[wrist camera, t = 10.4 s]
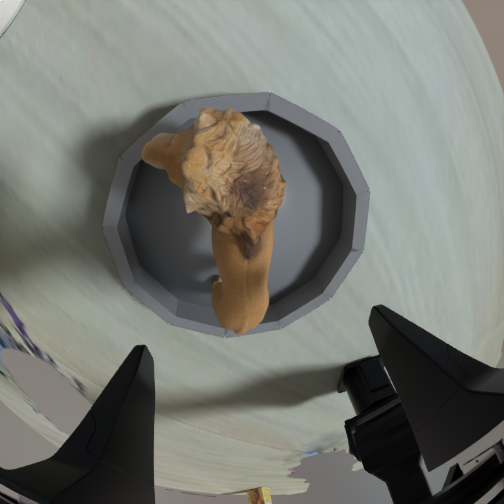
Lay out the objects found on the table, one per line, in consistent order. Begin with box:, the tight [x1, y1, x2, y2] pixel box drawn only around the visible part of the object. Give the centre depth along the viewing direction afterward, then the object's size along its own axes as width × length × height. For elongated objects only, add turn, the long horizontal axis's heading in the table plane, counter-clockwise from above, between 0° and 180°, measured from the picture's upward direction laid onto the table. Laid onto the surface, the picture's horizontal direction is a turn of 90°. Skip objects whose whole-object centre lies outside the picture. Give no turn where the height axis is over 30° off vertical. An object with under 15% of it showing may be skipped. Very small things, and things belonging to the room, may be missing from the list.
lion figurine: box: [142, 108, 286, 334], centre depth 14 cm, size 15×5×9 cm, turn 10°
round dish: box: [102, 92, 370, 338], centre depth 18 cm, size 17×17×3 cm
